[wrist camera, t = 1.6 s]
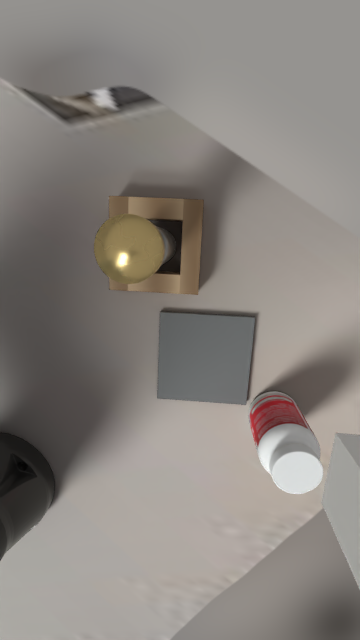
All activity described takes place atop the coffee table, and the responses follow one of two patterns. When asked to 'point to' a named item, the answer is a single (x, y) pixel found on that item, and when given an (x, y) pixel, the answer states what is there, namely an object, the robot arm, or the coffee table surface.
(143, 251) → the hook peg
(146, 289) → the block
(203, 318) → the rubber mat
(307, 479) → the pill bottle
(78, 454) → the coffee table surface
